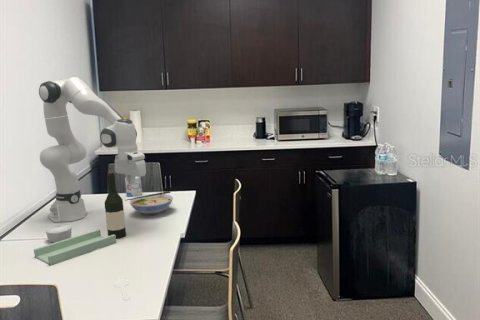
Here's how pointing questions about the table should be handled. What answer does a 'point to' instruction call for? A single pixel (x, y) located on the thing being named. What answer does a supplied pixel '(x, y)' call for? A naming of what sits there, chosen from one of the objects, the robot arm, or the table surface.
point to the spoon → (122, 287)
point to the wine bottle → (114, 210)
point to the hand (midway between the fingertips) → (131, 184)
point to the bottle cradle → (73, 247)
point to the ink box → (134, 188)
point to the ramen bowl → (151, 203)
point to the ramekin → (58, 233)
